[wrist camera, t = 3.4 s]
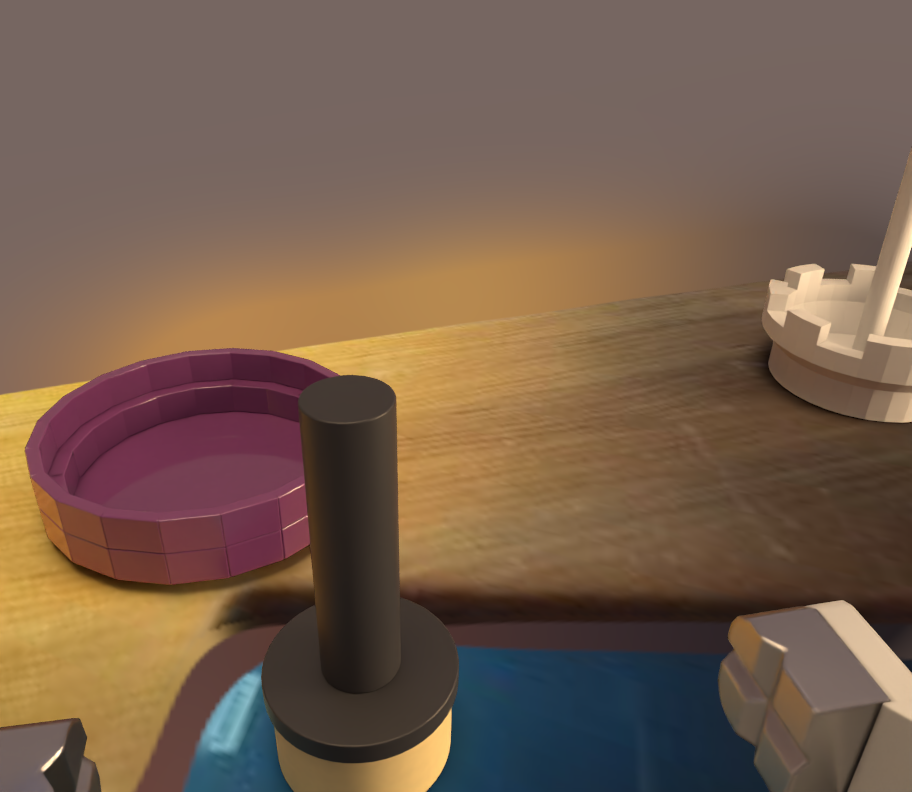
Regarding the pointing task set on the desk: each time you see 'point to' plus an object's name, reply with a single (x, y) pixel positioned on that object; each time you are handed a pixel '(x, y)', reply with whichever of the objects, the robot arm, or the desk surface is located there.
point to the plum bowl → (177, 466)
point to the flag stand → (849, 329)
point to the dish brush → (358, 616)
